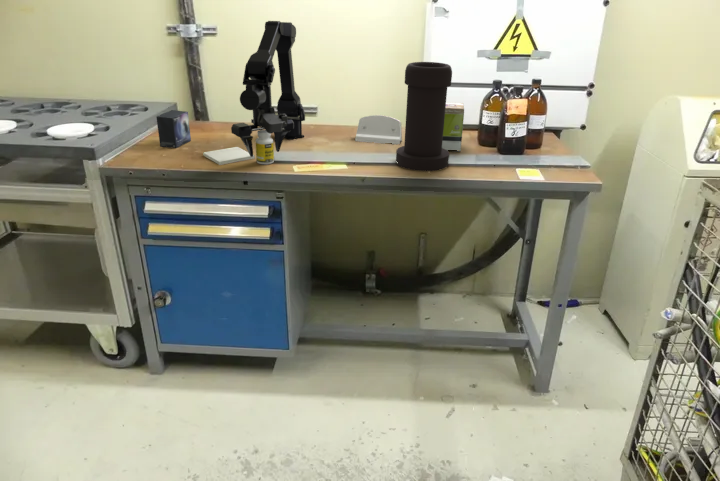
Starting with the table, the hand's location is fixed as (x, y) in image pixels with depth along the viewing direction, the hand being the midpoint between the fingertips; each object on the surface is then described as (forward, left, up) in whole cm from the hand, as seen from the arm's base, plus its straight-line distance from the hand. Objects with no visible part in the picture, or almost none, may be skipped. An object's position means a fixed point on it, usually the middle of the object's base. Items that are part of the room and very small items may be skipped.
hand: (264, 153), depth 166 cm
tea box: (-58, +19, -3) cm, 61 cm away
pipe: (-40, +29, -3) cm, 49 cm away
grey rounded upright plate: (-46, 0, -3) cm, 46 cm away
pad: (+7, -11, -2) cm, 13 cm away
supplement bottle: (0, +1, -3) cm, 3 cm away
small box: (+15, -35, -3) cm, 38 cm away
